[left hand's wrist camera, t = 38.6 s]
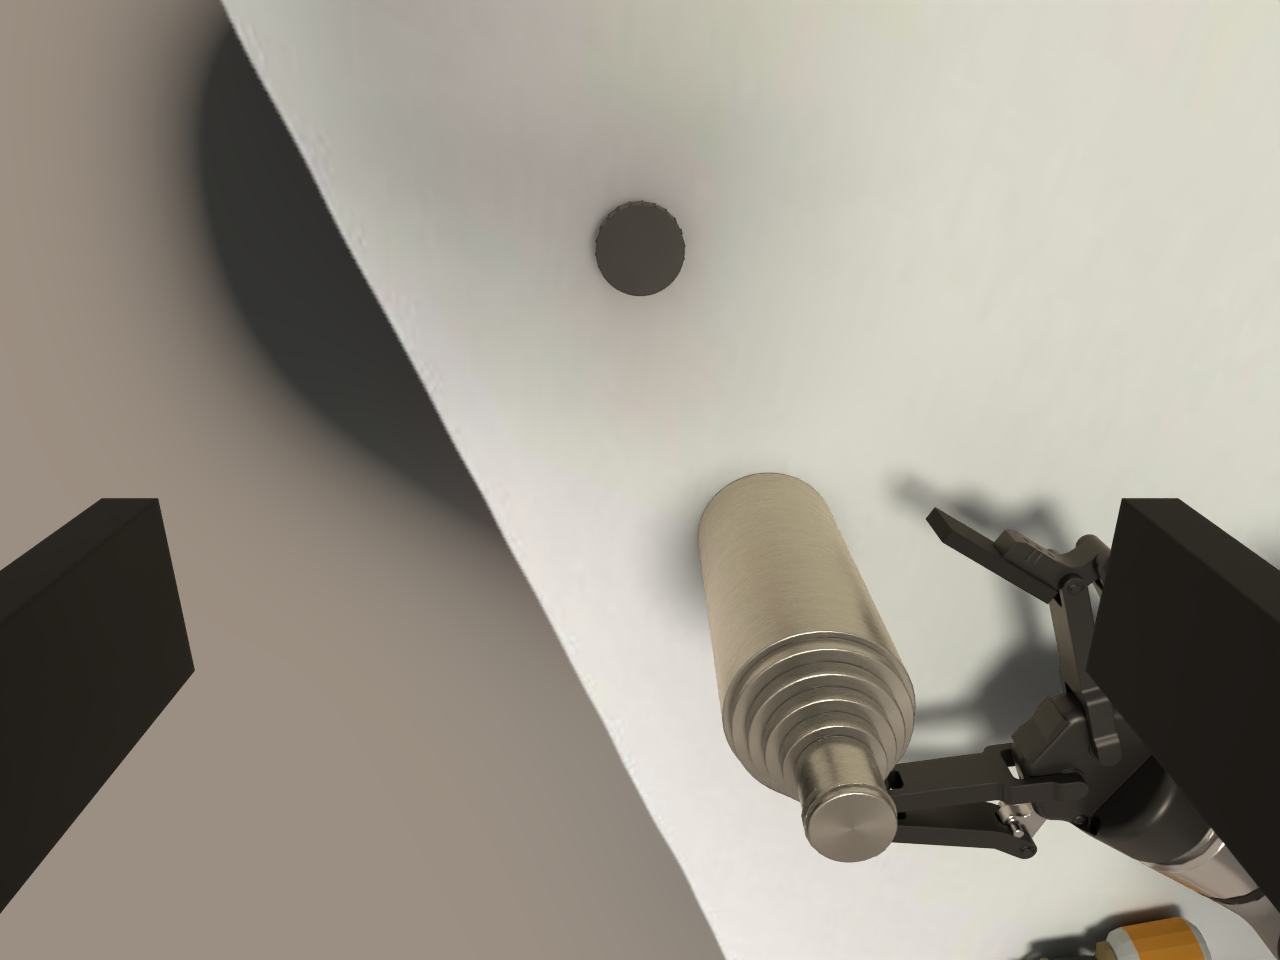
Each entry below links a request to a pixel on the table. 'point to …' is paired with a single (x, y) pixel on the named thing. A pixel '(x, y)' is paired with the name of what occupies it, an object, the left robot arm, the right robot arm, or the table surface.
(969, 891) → the table surface
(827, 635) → the bottle
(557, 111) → the table surface
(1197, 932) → the spray gun
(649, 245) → the cap
